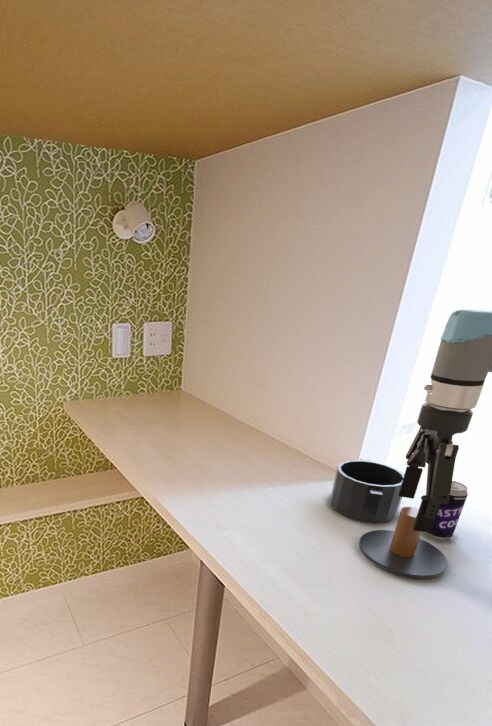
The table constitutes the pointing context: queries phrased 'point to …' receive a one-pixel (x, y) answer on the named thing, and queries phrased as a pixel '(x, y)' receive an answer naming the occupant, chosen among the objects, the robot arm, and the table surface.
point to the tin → (366, 491)
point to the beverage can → (449, 512)
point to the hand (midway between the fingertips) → (413, 512)
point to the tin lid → (403, 549)
